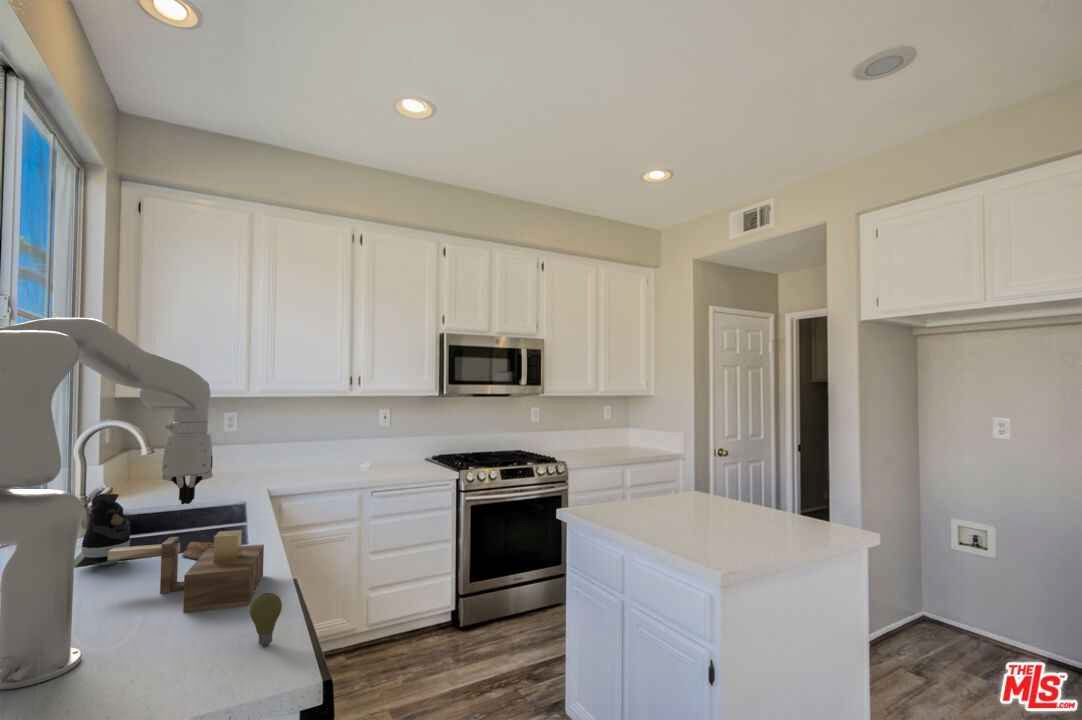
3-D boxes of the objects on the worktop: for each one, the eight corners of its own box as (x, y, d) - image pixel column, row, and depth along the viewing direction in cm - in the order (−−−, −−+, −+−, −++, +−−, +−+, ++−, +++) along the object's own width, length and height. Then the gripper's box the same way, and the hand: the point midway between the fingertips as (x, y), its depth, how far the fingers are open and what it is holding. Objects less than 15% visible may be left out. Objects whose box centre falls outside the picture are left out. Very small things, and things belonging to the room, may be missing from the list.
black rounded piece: (102, 573, 145) (105, 497, 146) (69, 570, 148) (72, 495, 148) (139, 560, 156) (142, 489, 157) (108, 557, 158) (111, 487, 159)
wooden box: (248, 605, 125) (250, 553, 126) (137, 617, 119) (139, 562, 119) (262, 575, 144) (264, 530, 145) (167, 584, 138) (169, 537, 138)
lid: (249, 576, 126) (250, 542, 126) (184, 582, 122) (185, 547, 122) (263, 550, 145) (264, 521, 145) (207, 555, 141) (208, 525, 141)
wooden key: (176, 554, 135) (176, 546, 135) (107, 560, 130) (108, 551, 130) (179, 551, 137) (180, 542, 137) (113, 556, 133) (113, 547, 133)
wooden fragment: (231, 559, 158) (231, 556, 158) (186, 567, 151) (186, 563, 151) (215, 539, 178) (215, 536, 178) (175, 546, 171) (175, 542, 171)
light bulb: (245, 654, 103) (247, 600, 104) (252, 640, 109) (253, 589, 109) (278, 650, 105) (279, 597, 105) (283, 637, 110) (284, 586, 111)
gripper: (149, 430, 132) (145, 507, 131) (220, 429, 136) (216, 504, 135) (160, 428, 139) (156, 502, 138) (227, 427, 144) (223, 498, 142)
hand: (186, 503), depth 137 cm, fingers closed
